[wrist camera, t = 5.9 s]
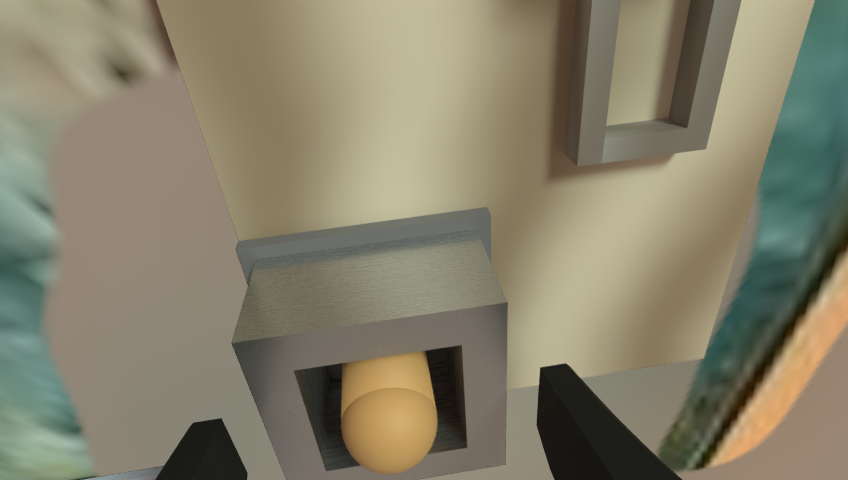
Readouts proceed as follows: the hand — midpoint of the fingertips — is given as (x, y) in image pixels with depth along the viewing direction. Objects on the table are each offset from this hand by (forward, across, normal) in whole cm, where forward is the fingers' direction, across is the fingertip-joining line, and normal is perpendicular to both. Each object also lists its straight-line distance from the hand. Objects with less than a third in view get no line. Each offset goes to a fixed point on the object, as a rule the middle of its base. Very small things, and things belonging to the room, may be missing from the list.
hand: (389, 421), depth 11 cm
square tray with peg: (+5, 0, 0) cm, 5 cm away
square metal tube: (+3, 0, 0) cm, 3 cm away
